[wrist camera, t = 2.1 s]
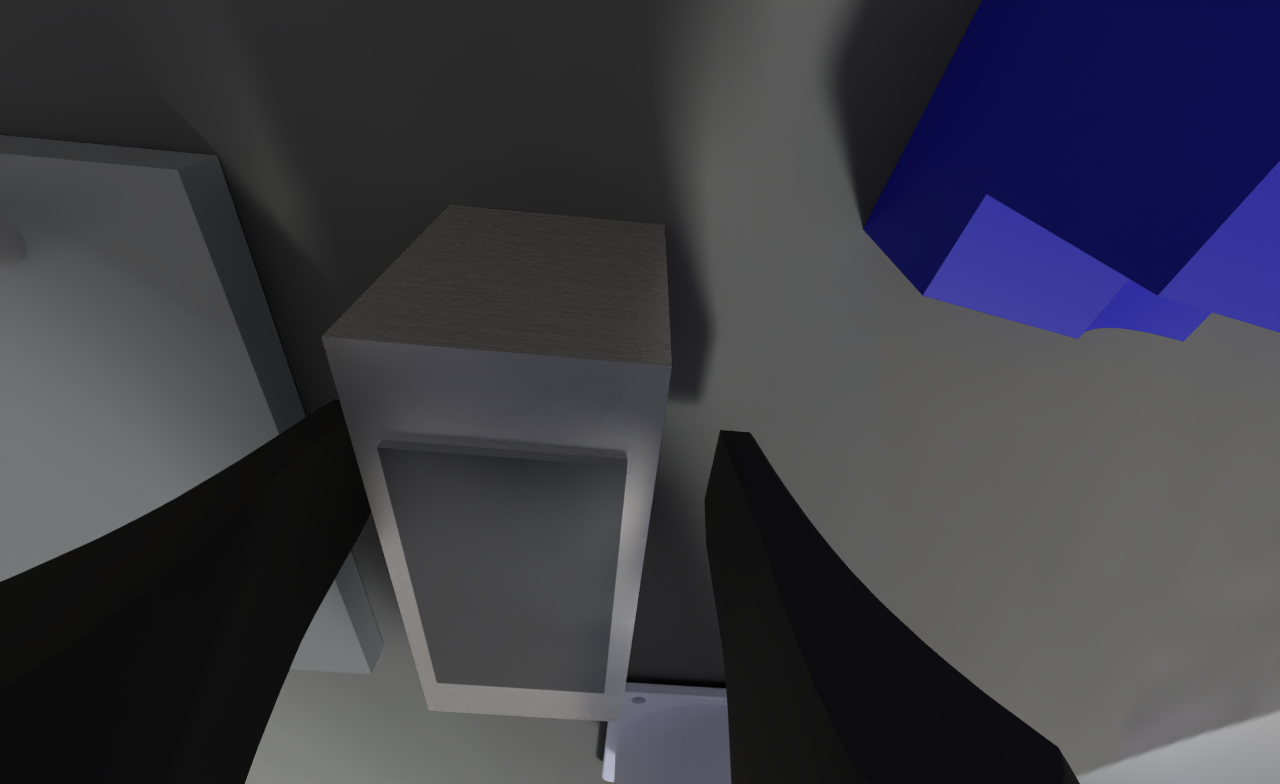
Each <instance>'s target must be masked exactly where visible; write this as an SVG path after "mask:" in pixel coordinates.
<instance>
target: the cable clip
mask: <svg viewBox="0 0 1280 784" xmlns="http://www.w3.org/2000/svg"><path fill="white" fill-rule="evenodd" d="M863 230H864V231H865V232H866V233H867V234H868V235H869V236H870V237H871V239H872V240H873V241H874V242H875V243H876V244H877V245H878V246H879V247H880V249H881V250H882V251H883V252H884V253H885V254H886V255H887V256H888V257H889V259H890V260H891V261H892V262H893V263H894V264H895V265H896V266H897V267H898V269H899V270H900V271H901V272H902V273H903V274H904V275H905V276H906V277H907V279H908V280H909V281H910V282H911V283H912V284H913V285H914V286H915V287H916V289H917V290H918V291H919V292H920V293H921V294H922V295H923V296H926V297H930V298H933V299H937V300H941V301H944V302H948V303H951V304H955V305H958V306H962V307H966V308H969V309H973V310H976V311H980V312H983V313H987V314H991V315H994V316H998V317H1001V318H1005V319H1008V320H1012V321H1016V322H1019V323H1023V324H1026V325H1030V326H1033V327H1037V328H1041V329H1044V330H1048V331H1051V332H1055V333H1058V334H1062V335H1066V336H1069V337H1073V338H1076V339H1078V338H1079V337H1080V336H1081V335H1082V334H1083V333H1084V332H1086V331H1089V330H1091V329H1096V328H1123V329H1131V330H1137V331H1142V332H1147V333H1153V334H1157V335H1161V336H1165V337H1169V338H1173V339H1176V340H1180V341H1184V340H1185V339H1186V338H1187V337H1188V336H1189V335H1190V334H1191V333H1192V332H1193V331H1194V330H1195V329H1196V328H1197V327H1198V326H1199V325H1200V324H1201V323H1202V322H1203V321H1204V320H1205V319H1206V318H1207V317H1208V316H1209V315H1210V314H1211V313H1212V312H1213V313H1217V314H1220V315H1223V316H1227V317H1230V318H1233V319H1237V320H1240V321H1243V322H1247V323H1250V324H1253V325H1257V326H1260V327H1263V328H1267V329H1270V330H1273V331H1277V332H1280V0H982V2H981V4H980V5H979V7H978V9H977V11H976V13H975V15H974V17H973V19H972V21H971V23H970V25H969V27H968V28H967V30H966V32H965V34H964V36H963V38H962V40H961V42H960V44H959V46H958V48H957V50H956V52H955V53H954V55H953V57H952V59H951V61H950V63H949V65H948V67H947V69H946V71H945V73H944V75H943V76H942V78H941V80H940V82H939V84H938V86H937V88H936V90H935V92H934V94H933V96H932V98H931V100H930V101H929V103H928V105H927V107H926V109H925V111H924V113H923V115H922V117H921V119H920V121H919V123H918V124H917V126H916V128H915V130H914V132H913V134H912V136H911V138H910V140H909V142H908V144H907V146H906V148H905V149H904V151H903V153H902V155H901V157H900V159H899V161H898V163H897V165H896V167H895V169H894V171H893V172H892V174H891V176H890V178H889V180H888V182H887V184H886V186H885V188H884V190H883V192H882V194H881V196H880V197H879V199H878V201H877V203H876V205H875V207H874V209H873V211H872V213H871V215H870V217H869V219H868V220H867V222H866V224H865V226H864V228H863Z"/></svg>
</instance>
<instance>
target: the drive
mask: <svg viewBox="0 0 1280 784" xmlns="http://www.w3.org/2000/svg"><path fill="white" fill-rule="evenodd" d="M321 337H322V341H323V344H324V348H325V351H326V355H327V358H328V362H329V365H330V369H331V372H332V376H333V379H334V382H335V386H336V389H337V393H338V396H339V400H340V403H341V407H342V410H343V414H344V417H345V421H346V424H347V428H348V431H349V435H350V438H351V442H352V445H353V448H354V452H355V455H356V459H357V462H358V466H359V469H360V473H361V476H362V480H363V483H364V487H365V490H366V494H367V497H368V501H369V504H370V508H371V511H372V515H373V518H374V521H375V525H376V528H377V532H378V535H379V539H380V542H381V546H382V549H383V553H384V556H385V560H386V563H387V567H388V570H389V574H390V577H391V581H392V584H393V588H394V591H395V594H396V598H397V601H398V605H399V608H400V612H401V615H402V619H403V622H404V626H405V629H406V633H407V636H408V640H409V643H410V647H411V650H412V654H413V657H414V660H415V664H416V667H417V671H418V674H419V678H420V681H421V685H422V688H423V692H424V695H425V699H426V702H427V706H428V709H429V711H446V712H462V713H478V714H494V715H511V716H527V717H543V718H559V719H576V720H592V721H608V722H620V720H621V713H622V706H623V699H624V692H625V685H626V678H627V672H628V665H629V658H630V651H631V644H632V637H633V630H634V623H635V617H636V610H637V603H638V596H639V589H640V582H641V575H642V569H643V562H644V555H645V548H646V541H647V534H648V527H649V520H650V514H651V507H652V500H653V493H654V486H655V479H656V472H657V465H658V459H659V452H660V445H661V438H662V431H663V424H664V417H665V410H666V404H667V397H668V390H669V383H670V376H671V369H672V358H671V338H670V318H669V298H668V279H667V259H666V239H665V225H662V224H652V223H641V222H630V221H619V220H609V219H598V218H587V217H577V216H566V215H555V214H545V213H534V212H523V211H513V210H502V209H491V208H481V207H470V206H459V205H449V206H448V207H447V208H446V209H445V210H444V211H443V212H442V213H441V214H440V215H439V216H438V217H437V218H436V219H435V220H434V221H433V222H432V223H431V224H430V225H429V227H428V228H427V229H426V230H425V231H424V232H423V233H422V234H421V235H420V236H419V237H418V238H417V239H416V240H415V241H414V242H413V243H412V244H411V245H410V246H409V247H408V248H407V249H406V250H405V251H404V252H403V253H402V254H401V255H400V256H399V257H398V258H397V259H396V260H395V261H394V262H393V264H392V265H391V266H390V267H389V268H388V269H387V270H386V271H385V272H384V273H383V274H382V275H381V276H380V277H379V278H378V279H377V280H376V281H375V282H374V283H373V284H372V285H371V286H370V287H369V288H368V289H367V290H366V291H365V292H364V293H363V294H362V295H361V296H360V297H359V298H358V299H357V300H356V302H355V303H354V304H353V305H352V306H351V307H350V308H349V309H348V310H347V311H346V312H345V313H344V314H343V315H342V316H341V317H340V318H339V319H338V320H337V321H336V322H335V323H334V324H333V325H332V326H331V327H330V328H329V329H328V330H327V331H326V332H325V333H324V334H323V335H322V336H321Z"/></svg>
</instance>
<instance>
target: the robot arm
mask: <svg viewBox="0 0 1280 784" xmlns="http://www.w3.org/2000/svg"><path fill="white" fill-rule="evenodd" d="M370 512H371V508H370V504H369V501H368V497H367V494H366V490H365V487H364V483H363V480H362V476H361V473H360V469H359V466H358V462H357V459H356V455H355V452H354V448H353V445H352V442H351V438H350V435H349V431H348V428H347V424H346V421H345V417H344V414H343V410H342V407H341V403H340V400H336V399H335V400H333V401H331V402H330V403H328V404H326V405H324V406H323V407H321V408H320V409H318V410H316V411H315V412H313V413H312V414H310V415H308V416H307V417H305V418H304V419H302V420H301V421H299V422H298V423H296V424H295V425H293V426H292V427H290V428H288V429H287V430H285V431H284V432H282V433H281V434H279V435H278V436H276V437H275V438H273V439H272V440H270V441H268V442H267V443H265V444H264V445H262V446H261V447H259V448H258V449H256V450H254V451H253V452H251V453H250V454H248V455H247V456H245V457H243V458H242V459H240V460H239V461H237V462H236V463H234V464H232V465H231V466H229V467H227V468H226V469H224V470H222V471H221V472H219V473H217V474H215V475H214V476H212V477H210V478H209V479H207V480H205V481H204V482H202V483H200V484H199V485H197V486H195V487H194V488H192V489H190V490H188V491H187V492H185V493H183V494H182V495H180V496H178V497H177V498H175V499H173V500H171V501H169V502H168V503H166V504H164V505H162V506H160V507H158V508H157V509H155V510H153V511H151V512H149V513H147V514H145V515H143V516H141V517H140V518H138V519H136V520H134V521H132V522H130V523H128V524H126V525H124V526H122V527H120V528H118V529H116V530H114V531H112V532H110V533H108V534H106V535H104V536H102V537H100V538H98V539H95V540H93V541H91V542H89V543H87V544H85V545H82V546H80V547H78V548H76V549H73V550H71V551H69V552H67V553H64V554H62V555H60V556H58V557H56V558H53V559H51V560H49V561H47V562H44V563H42V564H40V565H38V566H35V567H33V568H31V569H29V570H26V571H24V572H22V573H20V574H18V575H15V576H13V577H10V578H8V579H6V580H3V581H1V582H0V784H245V781H246V778H247V776H248V773H249V770H250V767H251V765H252V762H253V759H254V756H255V754H256V751H257V748H258V746H259V743H260V741H261V738H262V736H263V733H264V730H265V728H266V725H267V723H268V720H269V718H270V715H271V713H272V710H273V708H274V705H275V703H276V700H277V698H278V695H279V693H280V690H281V688H282V686H283V683H284V681H285V679H286V676H287V674H288V672H289V669H290V667H291V665H292V662H293V660H294V658H295V655H296V653H297V651H298V648H299V646H300V644H301V642H302V640H303V638H304V636H305V634H306V632H307V630H308V628H309V626H310V624H311V622H312V620H313V618H314V616H315V614H316V612H317V611H318V609H319V607H320V605H321V603H322V602H323V600H324V598H325V596H326V594H327V593H328V591H329V589H330V587H331V585H332V584H333V582H334V580H335V578H336V576H337V575H338V573H339V571H340V569H341V567H342V566H343V564H344V562H345V560H346V558H347V557H348V555H349V553H350V551H351V549H352V547H353V546H354V544H355V542H356V540H357V538H358V536H359V535H360V533H361V531H362V529H363V527H364V525H365V523H366V521H367V519H368V517H369V514H370ZM705 526H706V545H707V552H708V558H709V565H710V571H711V578H712V584H713V591H714V597H715V603H716V609H717V616H718V622H719V628H720V634H721V641H722V648H723V656H724V665H725V677H726V688H711V687H695V686H679V685H664V684H648V683H632V682H626V685H625V692H624V699H623V706H622V713H621V720H620V722H608V724H607V732H606V741H605V749H604V758H603V766H602V778H603V779H604V780H606V781H609V782H614V784H1080V783H1079V782H1078V780H1077V778H1076V776H1075V774H1074V773H1073V771H1072V769H1071V768H1070V766H1069V764H1068V763H1067V761H1066V759H1065V758H1064V756H1063V754H1062V753H1061V751H1060V750H1059V748H1058V747H1057V746H1056V745H1054V744H1053V743H1052V742H1050V741H1049V740H1047V739H1046V738H1045V737H1043V736H1042V735H1041V734H1039V733H1038V732H1037V731H1035V730H1034V729H1033V728H1031V727H1030V726H1029V725H1027V724H1026V723H1024V722H1023V721H1022V720H1020V719H1019V718H1018V717H1016V716H1015V715H1014V714H1012V713H1011V712H1010V711H1008V710H1007V709H1006V708H1004V707H1003V706H1002V705H1000V704H999V703H997V702H996V701H995V700H993V699H992V698H991V697H989V696H988V695H987V694H986V693H984V692H983V691H982V690H980V689H979V688H978V687H977V686H976V685H974V684H973V683H972V682H971V681H969V680H968V679H967V678H966V677H965V676H963V675H962V674H961V673H960V672H958V671H957V670H956V669H955V668H954V667H952V666H951V665H950V664H949V663H947V662H946V661H945V660H944V659H943V658H942V657H940V656H939V655H938V654H937V653H936V652H935V651H933V650H932V649H931V648H930V647H929V646H928V645H927V644H925V643H924V642H923V641H922V640H921V639H920V638H919V637H918V636H917V635H916V634H915V633H913V632H912V631H911V630H910V629H909V628H908V627H907V626H906V625H905V624H904V623H903V622H902V621H900V620H899V619H898V618H897V617H896V616H895V615H894V614H893V613H892V612H891V611H890V610H889V609H888V608H887V607H886V606H885V605H884V604H883V603H882V602H880V601H879V600H878V599H877V598H876V597H875V596H874V595H873V594H872V593H871V591H870V590H869V589H868V588H867V587H866V586H865V585H864V584H863V583H862V582H861V581H860V580H859V579H858V578H857V577H856V575H855V574H854V573H853V572H852V571H851V570H850V569H849V568H848V567H847V566H846V564H845V563H844V562H843V561H842V560H841V559H840V557H839V556H838V555H837V554H836V553H835V552H834V550H833V549H832V548H831V547H830V545H829V544H828V543H827V542H826V540H825V539H824V538H823V537H822V536H821V534H820V533H819V532H818V531H817V529H816V528H815V527H814V525H813V524H812V523H811V521H810V520H809V519H808V518H807V516H806V515H805V513H804V512H803V511H802V509H801V508H800V507H799V505H798V504H797V502H796V501H795V500H794V498H793V497H792V495H791V494H790V493H789V491H788V490H787V488H786V487H785V485H784V484H783V482H782V481H781V479H780V478H779V476H778V475H777V473H776V472H775V470H774V469H773V467H772V466H771V464H770V463H769V461H768V460H767V458H766V456H765V455H764V453H763V452H762V450H761V448H760V447H759V445H758V444H757V442H756V440H755V439H754V437H753V436H752V435H751V434H750V432H737V431H725V430H720V434H719V438H718V443H717V447H716V451H715V456H714V460H713V465H712V469H711V474H710V478H709V482H708V487H707V491H706V496H705Z"/></svg>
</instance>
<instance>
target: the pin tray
mask: <svg viewBox="0 0 1280 784" xmlns="http://www.w3.org/2000/svg"><path fill="white" fill-rule="evenodd" d="M305 417H306V416H305V413H304V410H303V407H302V404H301V401H300V398H299V395H298V392H297V389H296V386H295V383H294V380H293V378H292V375H291V372H290V369H289V366H288V363H287V360H286V357H285V354H284V351H283V348H282V345H281V342H280V339H279V336H278V333H277V330H276V327H275V325H274V322H273V319H272V316H271V313H270V310H269V307H268V304H267V301H266V298H265V295H264V292H263V289H262V286H261V283H260V280H259V277H258V274H257V272H256V269H255V266H254V263H253V260H252V257H251V254H250V251H249V248H248V245H247V242H246V239H245V236H244V233H243V230H242V227H241V224H240V221H239V218H238V216H237V213H236V210H235V207H234V204H233V201H232V198H231V195H230V192H229V189H228V186H227V183H226V180H225V177H224V174H223V171H222V168H221V165H220V163H219V160H218V157H217V155H206V154H196V153H185V152H175V151H164V150H154V149H143V148H133V147H122V146H112V145H102V144H91V143H81V142H70V141H60V140H49V139H39V138H28V137H18V136H7V135H0V582H1V581H3V580H6V579H8V578H10V577H13V576H15V575H18V574H20V573H22V572H24V571H26V570H29V569H31V568H33V567H35V566H38V565H40V564H42V563H44V562H47V561H49V560H51V559H53V558H56V557H58V556H60V555H62V554H64V553H67V552H69V551H71V550H73V549H76V548H78V547H80V546H82V545H85V544H87V543H89V542H91V541H93V540H95V539H98V538H100V537H102V536H104V535H106V534H108V533H110V532H112V531H114V530H116V529H118V528H120V527H122V526H124V525H126V524H128V523H130V522H132V521H134V520H136V519H138V518H140V517H141V516H143V515H145V514H147V513H149V512H151V511H153V510H155V509H157V508H158V507H160V506H162V505H164V504H166V503H168V502H169V501H171V500H173V499H175V498H177V497H178V496H180V495H182V494H183V493H185V492H187V491H188V490H190V489H192V488H194V487H195V486H197V485H199V484H200V483H202V482H204V481H205V480H207V479H209V478H210V477H212V476H214V475H215V474H217V473H219V472H221V471H222V470H224V469H226V468H227V467H229V466H231V465H232V464H234V463H236V462H237V461H239V460H240V459H242V458H243V457H245V456H247V455H248V454H250V453H251V452H253V451H254V450H256V449H258V448H259V447H261V446H262V445H264V444H265V443H267V442H268V441H270V440H272V439H273V438H275V437H276V436H278V435H279V434H281V433H282V432H284V431H285V430H287V429H288V428H290V427H292V426H293V425H295V424H296V423H298V422H299V421H301V420H302V419H304V418H305ZM382 648H383V643H382V640H381V637H380V634H379V631H378V628H377V625H376V622H375V619H374V616H373V613H372V610H371V607H370V604H369V601H368V598H367V596H366V593H365V590H364V587H363V584H362V581H361V578H360V575H359V572H358V569H357V566H356V563H355V560H354V557H353V554H352V551H350V553H349V555H348V557H347V558H346V560H345V562H344V564H343V566H342V567H341V569H340V571H339V573H338V575H337V576H336V578H335V580H334V582H333V584H332V585H331V587H330V589H329V591H328V593H327V594H326V596H325V598H324V600H323V602H322V603H321V605H320V607H319V609H318V611H317V612H316V614H315V616H314V618H313V620H312V622H311V624H310V626H309V628H308V630H307V632H306V634H305V636H304V638H303V640H302V642H301V644H300V646H299V648H298V651H297V653H296V655H295V658H294V660H293V662H292V665H291V667H290V669H294V670H310V671H326V672H342V673H358V674H372V672H373V669H374V667H375V665H376V662H377V660H378V657H379V655H380V653H381V650H382Z"/></svg>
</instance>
